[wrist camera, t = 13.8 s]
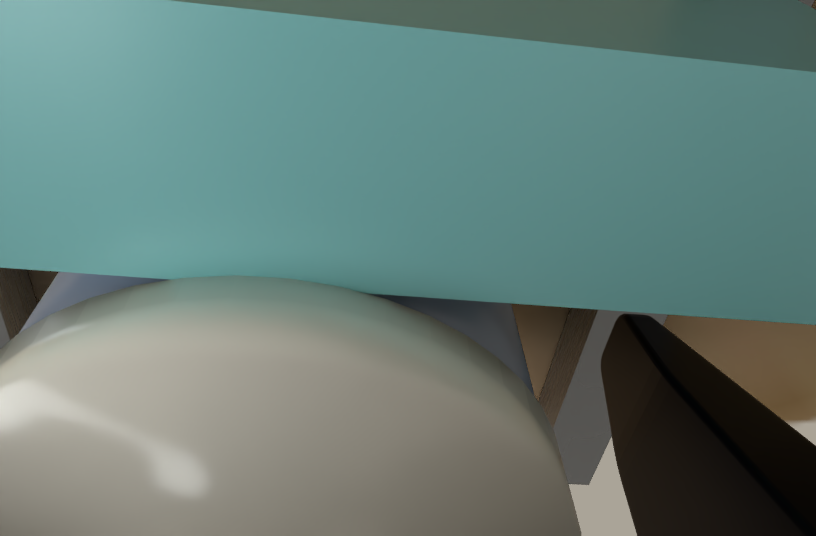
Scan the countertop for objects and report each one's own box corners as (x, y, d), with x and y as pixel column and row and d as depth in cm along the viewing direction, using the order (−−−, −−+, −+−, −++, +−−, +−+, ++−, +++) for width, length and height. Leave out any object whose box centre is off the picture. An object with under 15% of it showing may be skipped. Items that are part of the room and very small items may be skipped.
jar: (428, 398, 12) (455, 727, 8) (109, 340, 11) (-57, 688, 7) (556, 126, 9) (715, 433, 5) (125, 4, 8) (-171, 268, 4)
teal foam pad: (-73, -161, 7) (-626, -90, 3) (679, -63, 8) (967, 89, 4) (-24, 23, 8) (-388, 240, 4) (628, 92, 9) (814, 325, 5)
